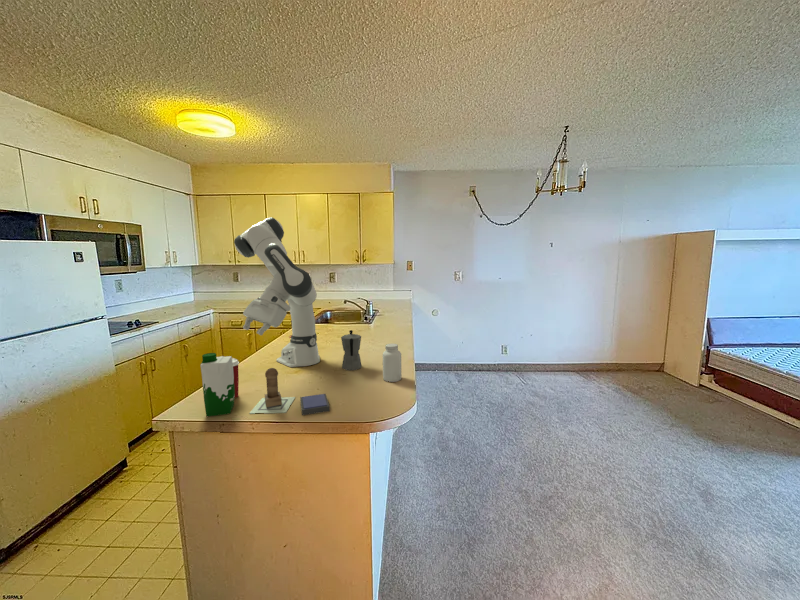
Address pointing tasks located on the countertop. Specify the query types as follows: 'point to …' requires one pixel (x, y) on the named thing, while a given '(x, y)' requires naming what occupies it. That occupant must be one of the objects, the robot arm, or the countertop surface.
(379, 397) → the countertop surface
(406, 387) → the countertop surface
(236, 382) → the paper cup
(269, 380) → the stamp
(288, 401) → the card
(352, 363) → the coffeepot
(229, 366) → the milk carton
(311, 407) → the ink pad
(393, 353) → the pill bottle
